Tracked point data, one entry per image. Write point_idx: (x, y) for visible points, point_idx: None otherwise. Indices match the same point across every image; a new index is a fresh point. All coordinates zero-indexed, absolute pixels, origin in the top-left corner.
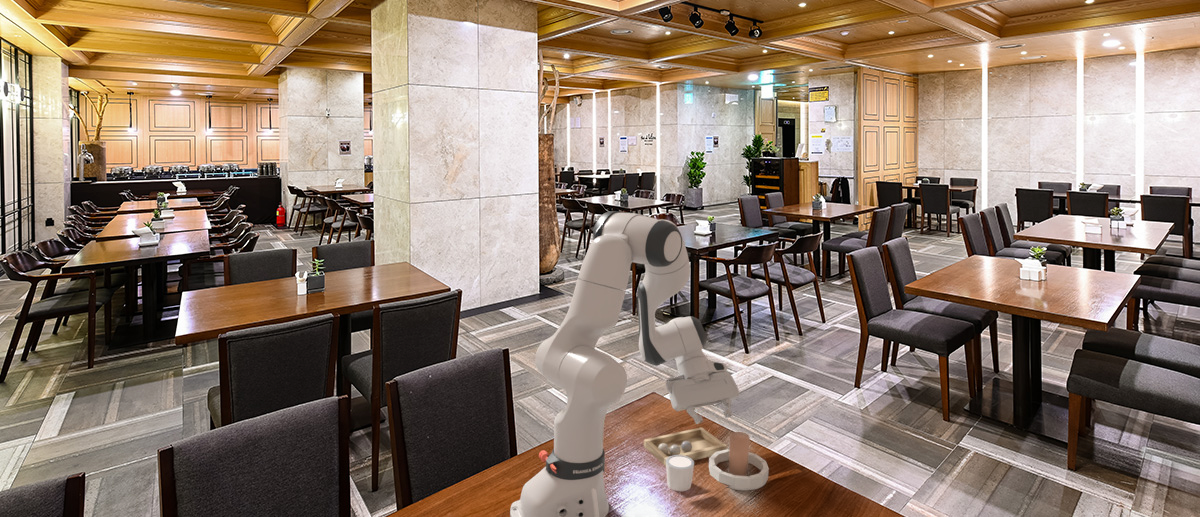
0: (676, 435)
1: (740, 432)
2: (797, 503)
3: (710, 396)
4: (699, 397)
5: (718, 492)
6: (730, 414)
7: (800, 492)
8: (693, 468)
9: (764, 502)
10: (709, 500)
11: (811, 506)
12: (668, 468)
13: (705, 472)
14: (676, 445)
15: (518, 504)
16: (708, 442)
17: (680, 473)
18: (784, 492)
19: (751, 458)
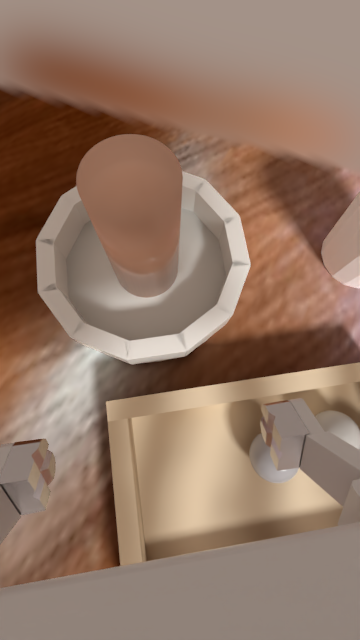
0: None
1: (100, 211)
2: (70, 116)
3: (143, 635)
4: (334, 618)
5: (249, 207)
6: (16, 443)
7: (26, 151)
8: (357, 194)
9: None
10: (289, 182)
11: (45, 99)
12: None
13: (242, 312)
14: (341, 435)
15: None
16: (141, 506)
17: None
18: (68, 162)
19: (64, 295)
